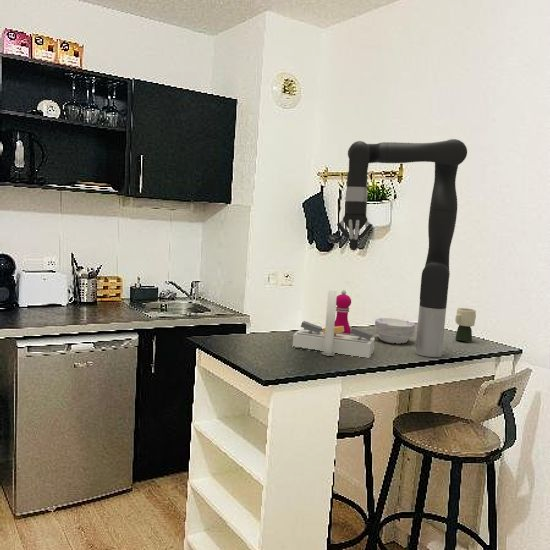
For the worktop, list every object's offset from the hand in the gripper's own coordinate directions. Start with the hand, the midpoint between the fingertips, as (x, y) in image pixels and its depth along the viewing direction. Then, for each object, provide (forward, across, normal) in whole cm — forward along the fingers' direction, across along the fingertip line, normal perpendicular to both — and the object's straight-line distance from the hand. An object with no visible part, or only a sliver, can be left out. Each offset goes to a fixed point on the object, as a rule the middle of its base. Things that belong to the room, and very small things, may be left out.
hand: (353, 250), depth 197 cm
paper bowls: (+36, -14, -22) cm, 45 cm away
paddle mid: (+29, +5, +4) cm, 30 cm away
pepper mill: (+36, +4, -8) cm, 37 cm away
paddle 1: (+29, +13, +4) cm, 32 cm away
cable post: (+36, +5, +12) cm, 38 cm away
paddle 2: (+29, -5, +4) cm, 30 cm away
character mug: (+37, -40, -38) cm, 66 cm away
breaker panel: (+36, +5, +4) cm, 36 cm away
